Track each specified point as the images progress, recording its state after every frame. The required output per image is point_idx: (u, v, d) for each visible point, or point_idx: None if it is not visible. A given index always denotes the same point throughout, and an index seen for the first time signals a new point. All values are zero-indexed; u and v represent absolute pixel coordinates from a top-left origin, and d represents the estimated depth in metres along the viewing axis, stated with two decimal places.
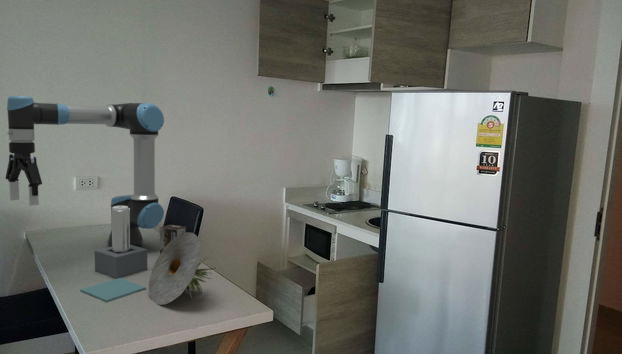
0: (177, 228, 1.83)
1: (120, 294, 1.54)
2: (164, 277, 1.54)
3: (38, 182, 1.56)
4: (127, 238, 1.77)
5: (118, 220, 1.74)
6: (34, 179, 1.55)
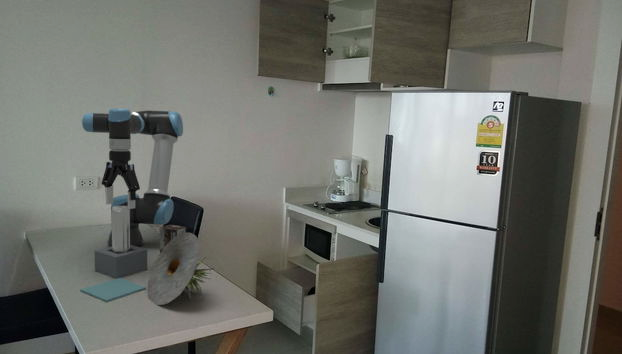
0: (177, 228, 1.83)
1: (120, 294, 1.54)
2: (163, 278, 1.54)
3: (137, 187, 1.70)
4: (127, 238, 1.77)
5: (118, 220, 1.74)
6: (133, 185, 1.69)
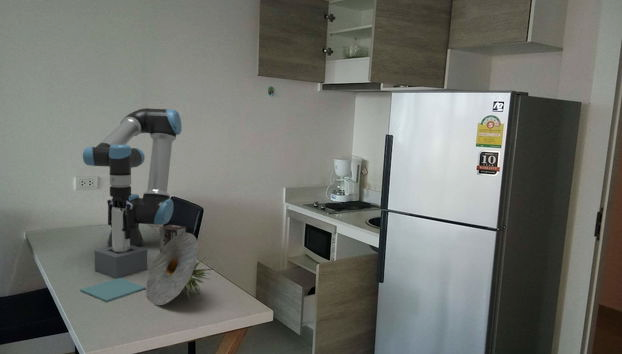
0: (177, 228, 1.83)
1: (120, 294, 1.54)
2: (161, 278, 1.53)
3: (131, 227, 1.74)
4: None
5: (118, 220, 1.74)
6: (129, 225, 1.73)
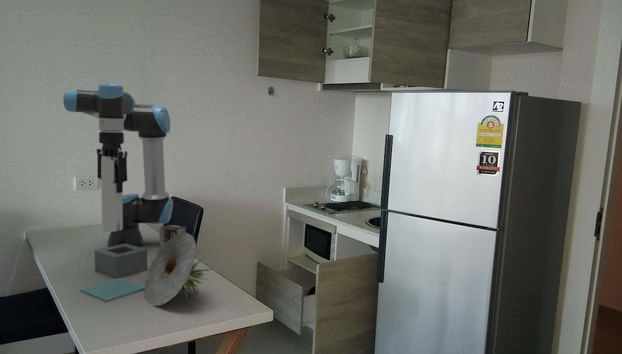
0: (177, 228, 1.83)
1: (120, 294, 1.54)
2: (159, 278, 1.53)
3: (124, 179, 1.51)
4: None
5: (108, 170, 1.51)
6: (121, 176, 1.50)
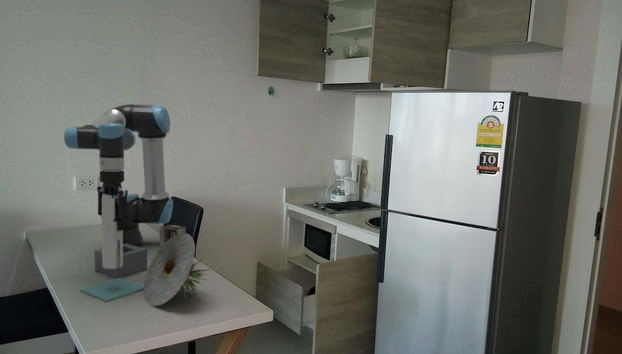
0: (177, 228, 1.83)
1: (120, 294, 1.54)
2: (158, 278, 1.53)
3: (124, 217, 1.53)
4: None
5: (109, 209, 1.53)
6: (121, 215, 1.52)
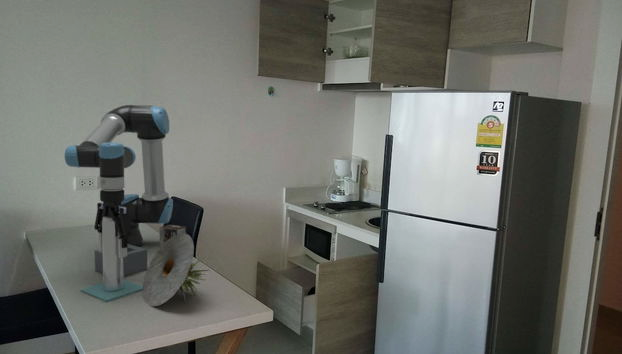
0: (177, 228, 1.83)
1: (120, 294, 1.54)
2: (157, 279, 1.53)
3: (129, 234, 1.52)
4: None
5: (109, 232, 1.54)
6: (125, 232, 1.51)
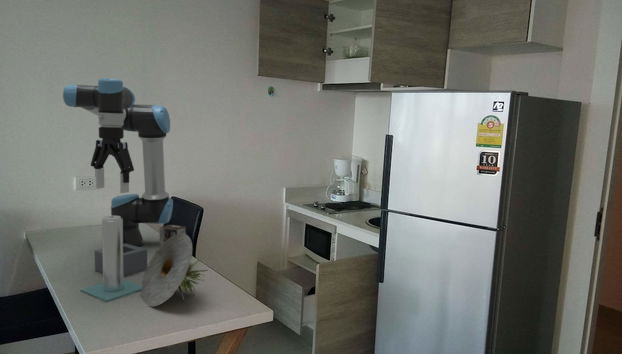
0: (177, 228, 1.83)
1: (120, 294, 1.54)
2: (156, 279, 1.52)
3: (130, 168, 1.49)
4: (120, 252, 1.56)
5: (109, 232, 1.54)
6: (127, 165, 1.48)
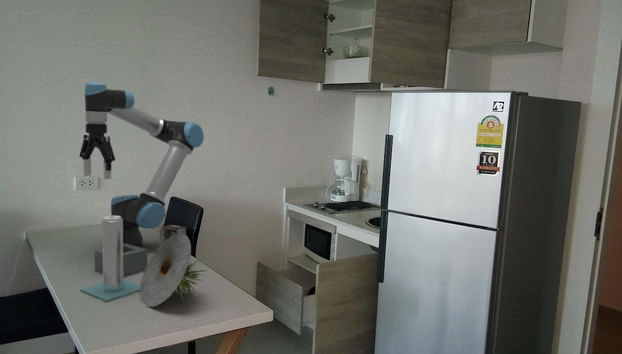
0: (177, 228, 1.83)
1: (120, 294, 1.54)
2: (155, 279, 1.52)
3: (112, 158, 1.77)
4: (120, 252, 1.56)
5: (109, 232, 1.54)
6: (109, 156, 1.76)
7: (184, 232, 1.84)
